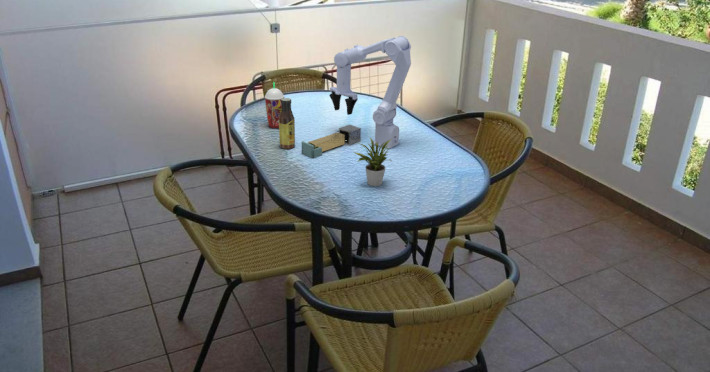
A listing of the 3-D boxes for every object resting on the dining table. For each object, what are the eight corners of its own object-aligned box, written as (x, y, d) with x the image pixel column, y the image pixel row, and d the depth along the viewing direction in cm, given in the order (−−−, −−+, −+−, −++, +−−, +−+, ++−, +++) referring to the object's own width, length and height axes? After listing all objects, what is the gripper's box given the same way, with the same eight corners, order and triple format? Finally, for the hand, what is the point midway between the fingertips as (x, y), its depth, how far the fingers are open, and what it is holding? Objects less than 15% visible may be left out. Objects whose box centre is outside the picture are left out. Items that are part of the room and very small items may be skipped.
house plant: (372, 170, 222) (374, 129, 215) (403, 180, 214) (405, 138, 207) (348, 182, 212) (348, 139, 205) (379, 193, 204) (380, 149, 197)
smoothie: (283, 129, 260) (282, 85, 251) (264, 129, 260) (262, 84, 251) (286, 123, 267) (284, 79, 258) (267, 122, 267) (265, 79, 259)
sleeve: (349, 137, 253) (350, 124, 250) (360, 141, 248) (360, 128, 246) (338, 141, 248) (338, 128, 246) (349, 145, 244) (349, 132, 242)
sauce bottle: (292, 150, 239) (291, 102, 230) (277, 148, 240) (275, 101, 231) (297, 144, 244) (296, 97, 236) (282, 143, 245) (280, 96, 237)
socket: (310, 150, 239) (310, 138, 237) (321, 155, 235) (321, 143, 232) (301, 153, 236) (301, 141, 234) (312, 158, 232) (312, 146, 229)
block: (337, 141, 246) (337, 132, 245) (344, 144, 244) (344, 134, 242) (308, 151, 236) (308, 141, 234) (315, 154, 234) (314, 144, 232)
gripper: (324, 78, 248) (324, 110, 254) (349, 86, 239) (348, 118, 245) (336, 75, 252) (336, 106, 258) (361, 82, 243) (360, 114, 249)
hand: (343, 112), depth 252 cm, fingers open, 7 cm apart
